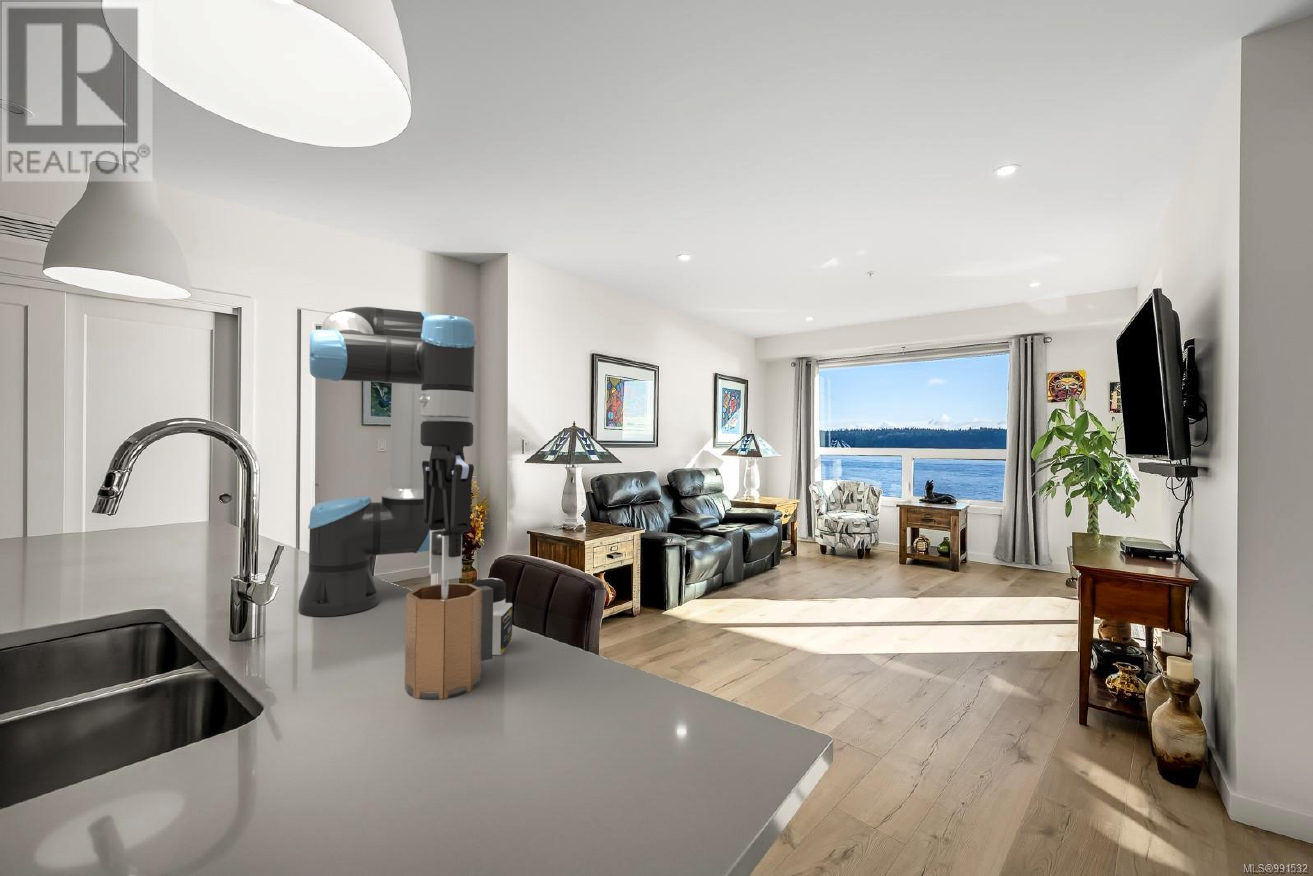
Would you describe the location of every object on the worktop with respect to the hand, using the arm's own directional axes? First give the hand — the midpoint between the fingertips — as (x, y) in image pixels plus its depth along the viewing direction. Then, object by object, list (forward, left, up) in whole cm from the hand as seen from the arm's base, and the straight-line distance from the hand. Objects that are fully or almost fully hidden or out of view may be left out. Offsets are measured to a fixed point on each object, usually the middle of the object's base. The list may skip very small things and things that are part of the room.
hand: (445, 575), depth 89 cm
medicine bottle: (-10, +12, -17) cm, 23 cm away
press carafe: (0, +1, -17) cm, 17 cm away
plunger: (0, 0, -15) cm, 15 cm away
